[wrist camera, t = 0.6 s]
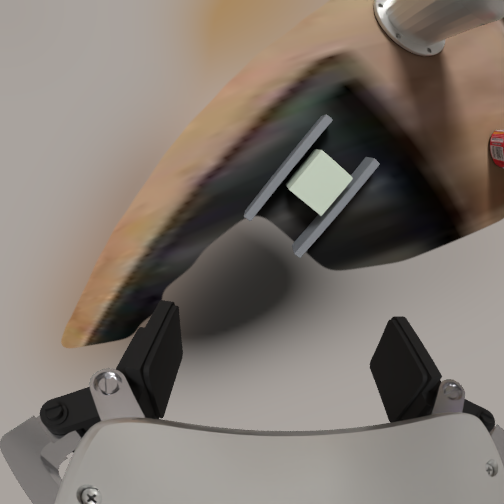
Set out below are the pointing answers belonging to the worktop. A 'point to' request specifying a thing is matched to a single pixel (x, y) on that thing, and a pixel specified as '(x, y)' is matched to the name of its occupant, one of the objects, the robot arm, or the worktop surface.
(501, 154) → the soda can
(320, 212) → the block
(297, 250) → the channel
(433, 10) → the robot arm
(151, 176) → the worktop surface
